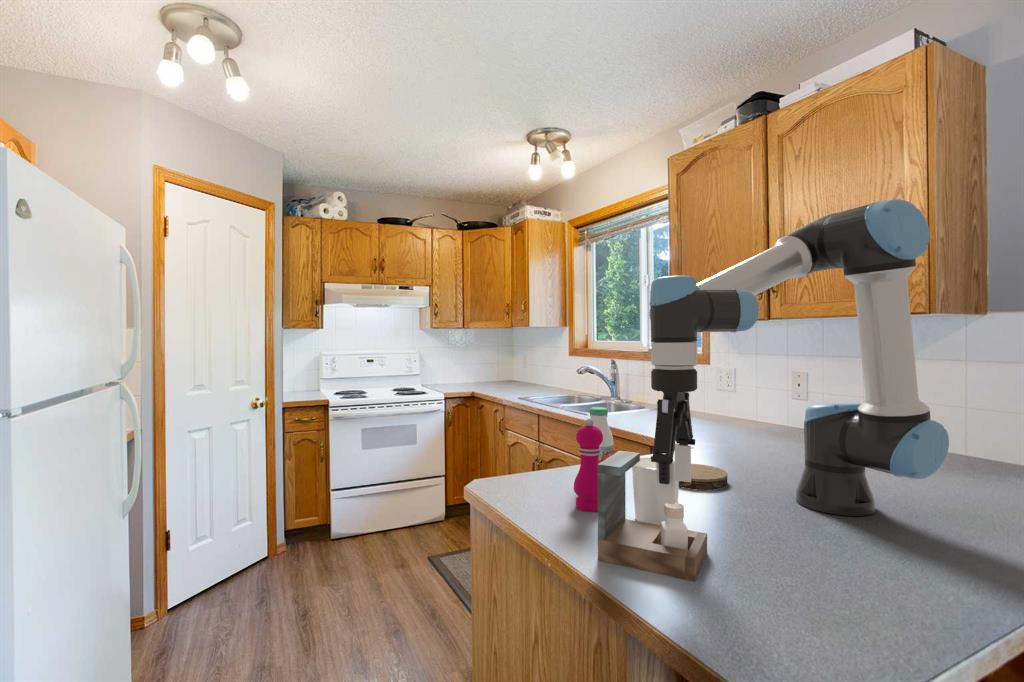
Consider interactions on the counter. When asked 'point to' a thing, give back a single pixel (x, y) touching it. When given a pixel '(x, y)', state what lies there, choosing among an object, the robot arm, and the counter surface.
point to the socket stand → (638, 529)
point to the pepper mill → (588, 467)
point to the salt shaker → (674, 527)
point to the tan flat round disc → (705, 478)
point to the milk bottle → (603, 431)
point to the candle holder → (648, 493)
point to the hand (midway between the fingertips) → (675, 491)
